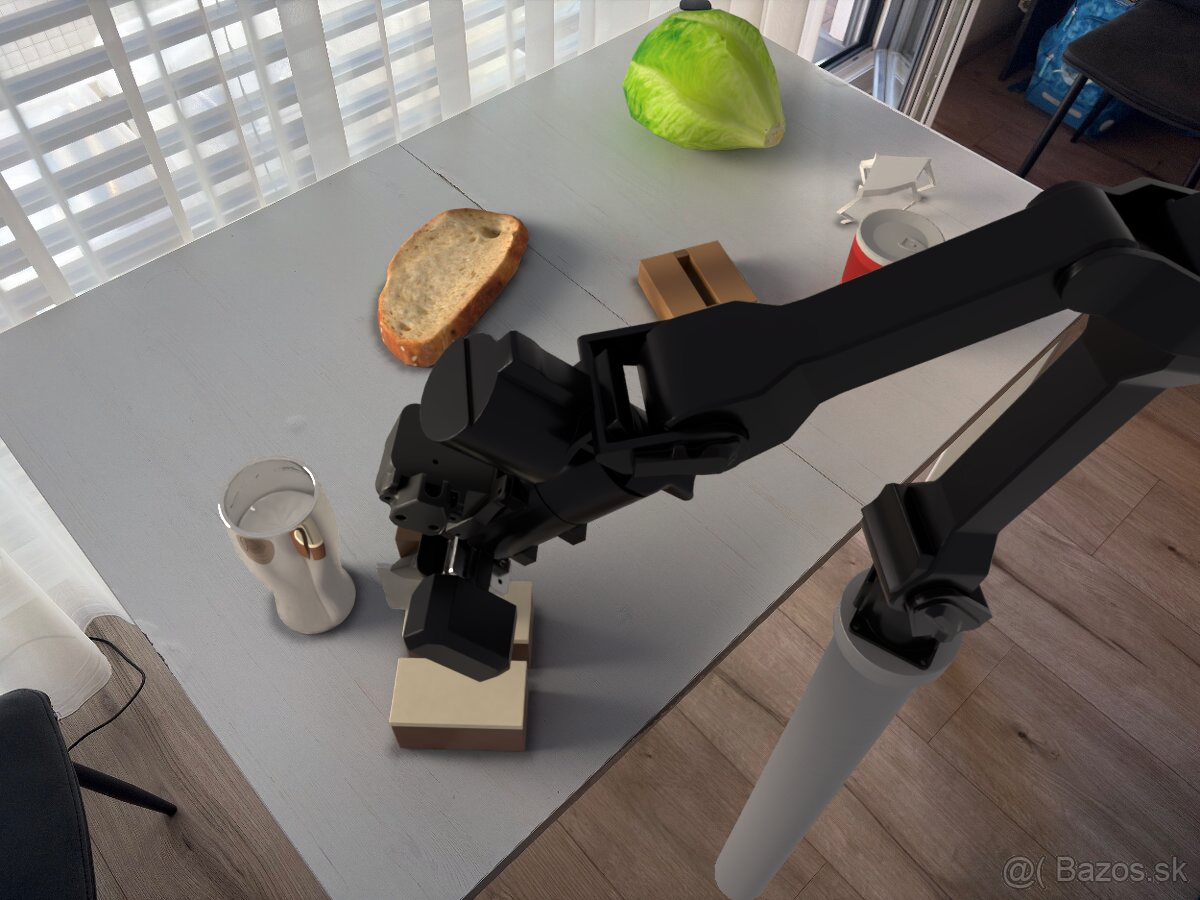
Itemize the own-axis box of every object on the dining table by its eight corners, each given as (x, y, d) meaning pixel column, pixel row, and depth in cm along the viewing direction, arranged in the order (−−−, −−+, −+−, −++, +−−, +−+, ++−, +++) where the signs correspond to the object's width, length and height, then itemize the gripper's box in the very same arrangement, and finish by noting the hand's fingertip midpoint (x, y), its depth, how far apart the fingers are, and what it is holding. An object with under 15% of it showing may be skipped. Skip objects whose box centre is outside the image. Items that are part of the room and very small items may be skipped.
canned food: (903, 360, 93) (939, 276, 84) (822, 336, 94) (848, 251, 85) (917, 306, 97) (953, 221, 88) (839, 284, 98) (866, 198, 89)
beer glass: (320, 656, 73) (271, 558, 61) (252, 611, 75) (191, 507, 63) (380, 587, 77) (344, 481, 65) (313, 546, 79) (267, 436, 67)
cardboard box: (753, 322, 95) (758, 300, 93) (673, 344, 93) (676, 322, 91) (714, 262, 100) (717, 239, 97) (637, 282, 98) (639, 260, 95)
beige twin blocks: (533, 612, 76) (532, 581, 72) (525, 751, 70) (522, 726, 65) (419, 609, 76) (410, 577, 72) (399, 748, 69) (389, 722, 65)
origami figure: (869, 166, 110) (880, 129, 106) (934, 199, 107) (949, 162, 103) (811, 218, 104) (820, 181, 100) (878, 255, 101) (890, 218, 97)
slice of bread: (398, 377, 90) (392, 350, 87) (345, 253, 99) (338, 224, 96) (576, 322, 94) (576, 295, 91) (509, 209, 104) (507, 180, 101)
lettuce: (720, 208, 105) (738, 97, 94) (591, 123, 113) (594, 13, 102) (808, 148, 111) (835, 39, 100) (680, 72, 120) (692, -37, 109)
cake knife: (475, 602, 69) (461, 521, 60) (471, 623, 68) (457, 544, 59) (392, 596, 69) (366, 514, 61) (387, 616, 68) (360, 536, 60)
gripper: (482, 277, 55) (329, 386, 64) (421, 564, 44) (247, 647, 53) (615, 377, 61) (458, 464, 70) (591, 651, 50) (409, 711, 59)
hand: (399, 558), depth 63 cm, fingers closed on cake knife, 2 cm apart
